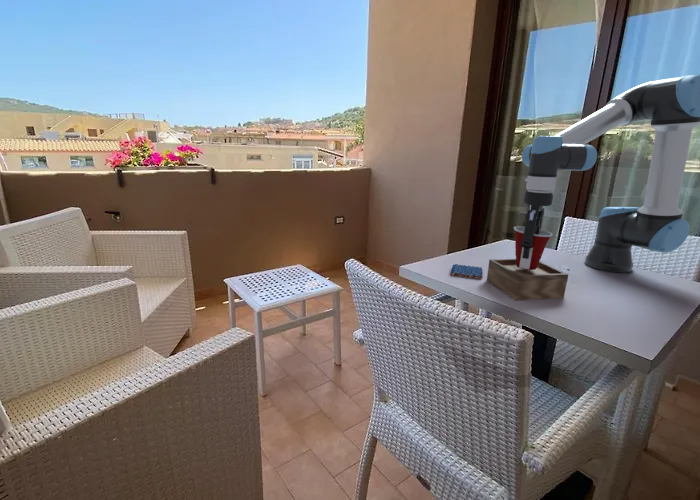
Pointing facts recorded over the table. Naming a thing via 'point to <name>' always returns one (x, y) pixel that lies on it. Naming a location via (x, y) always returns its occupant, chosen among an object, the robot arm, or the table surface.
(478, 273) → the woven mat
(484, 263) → the table surface
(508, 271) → the open wooden box
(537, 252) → the plastic cup
